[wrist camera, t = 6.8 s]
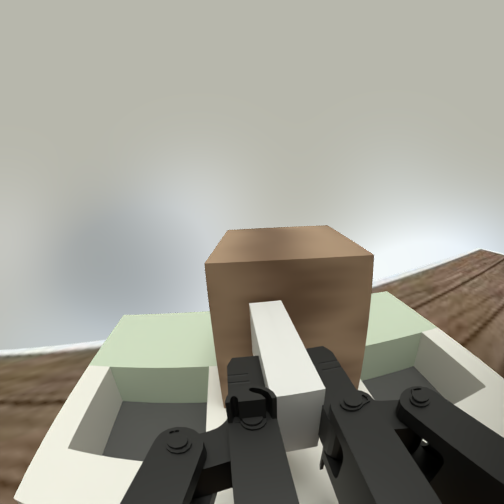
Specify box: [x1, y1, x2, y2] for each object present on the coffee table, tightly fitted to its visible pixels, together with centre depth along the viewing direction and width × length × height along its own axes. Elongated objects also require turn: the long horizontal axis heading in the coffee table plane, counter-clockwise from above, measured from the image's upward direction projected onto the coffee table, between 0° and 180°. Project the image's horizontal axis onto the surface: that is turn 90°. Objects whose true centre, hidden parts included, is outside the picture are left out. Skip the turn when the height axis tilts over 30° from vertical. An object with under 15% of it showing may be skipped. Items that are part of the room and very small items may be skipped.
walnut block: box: [205, 225, 374, 408], centre depth 19 cm, size 8×10×9 cm
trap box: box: [14, 291, 504, 504], centre depth 19 cm, size 30×24×4 cm
